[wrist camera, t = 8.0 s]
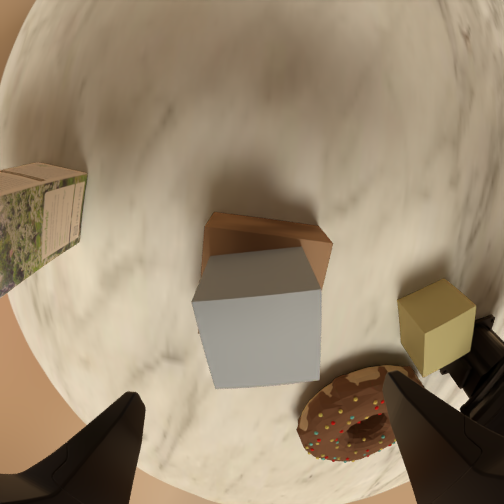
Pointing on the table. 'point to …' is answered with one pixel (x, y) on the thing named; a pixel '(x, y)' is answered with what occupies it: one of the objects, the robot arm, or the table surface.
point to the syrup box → (37, 218)
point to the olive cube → (436, 325)
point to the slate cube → (260, 318)
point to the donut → (350, 416)
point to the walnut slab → (265, 239)
